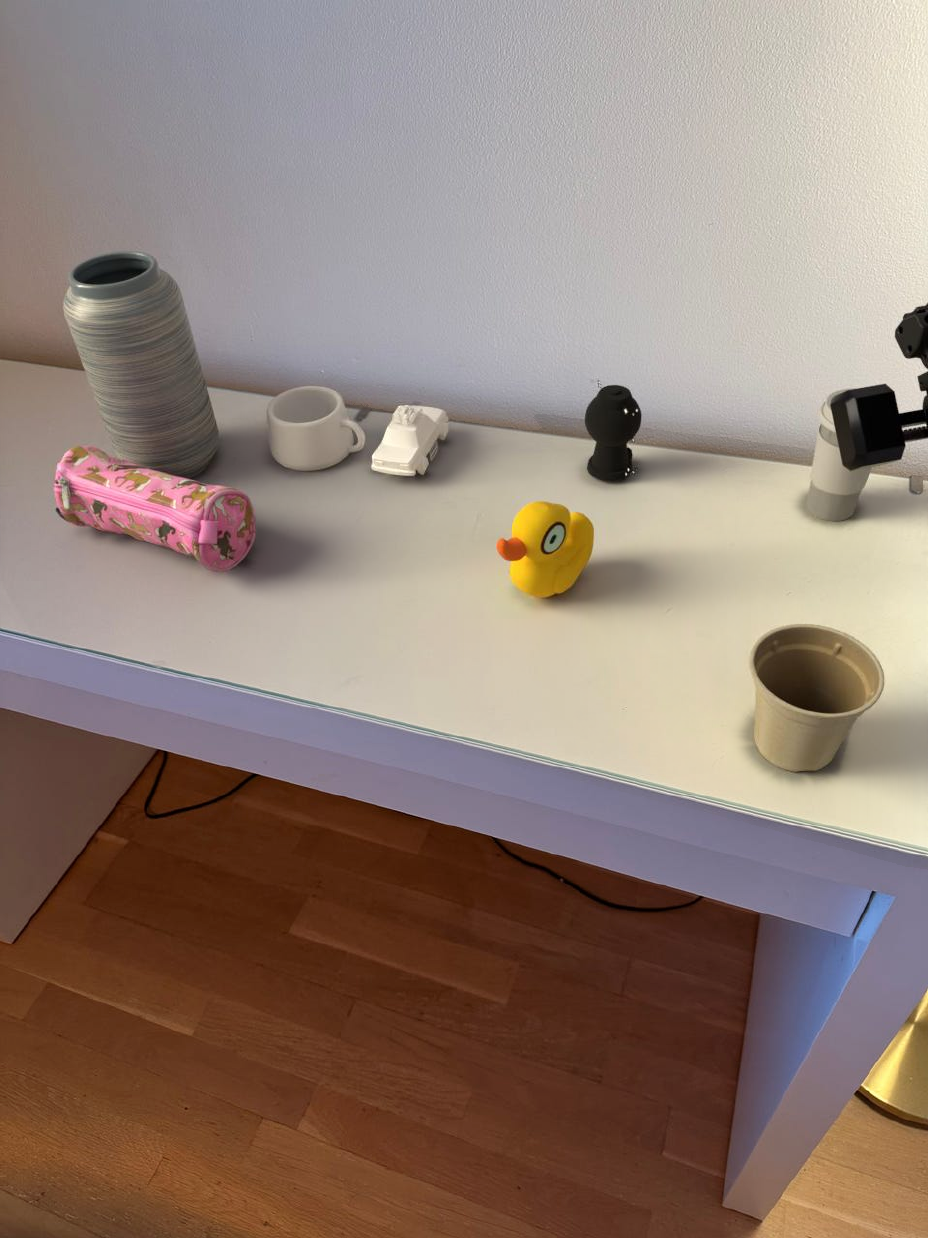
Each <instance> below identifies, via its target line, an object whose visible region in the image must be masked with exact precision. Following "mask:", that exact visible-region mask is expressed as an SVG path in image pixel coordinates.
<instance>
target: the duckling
mask: <svg viewBox="0 0 928 1238" xmlns="http://www.w3.org/2000/svg"><path fill="white" fill-rule="evenodd" d="M510 532H511V537H510V538H508V539H505V538H502V537H501V538H498V540H497V542H496V550H497V553H498V555H499V556H500V557H501V558H502V559H504V560H505V561H508V562H510V566H509V578H510V580H511V582H512V584H513V585H514V586H515V587H516V588H517V589H518V590H520V591H521V592H522V593H524V594H526V595H528V596H531V597H534V598H539V599H540V598H541V599H543V598H544V599H545V598H549V597H551V596H553V595H555V594H557V595H559V594H562V593H564V592H565V591H567V590H568V589H570V588H571V587H572V586H573V585H574V584H575V582H576V581H577V579H578V578H579V576H580V574H581V573H582V571H583V569H584V567H586V565H587V564H588V562H589V560H590V559H591V557H592V554H593V550H594V541H595V527H594V523H592V521H591V520H590V518H589V517H588V516H587V515H585V514H584V513H582V512H579V511H574V512H570V510H569V508H568V507H566V506H565V505H563V504H560V503H554V502H548V501H544V500H537V501H533V502H530V503H528V504H526V505H524V506H523V507H522V508H521V509H520V510H519V511H518V512H517V514H516V515H515V516H514V519H513V521H512V524H511V531H510Z"/></svg>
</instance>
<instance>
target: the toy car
mask: <svg viewBox="0 0 928 1238" xmlns="http://www.w3.org/2000/svg"><path fill="white" fill-rule="evenodd" d="M449 421H450V420H449V417H448V413H447V412H446V411H445V410H443V409H441V408H437V407H431V406H424V405H408V404H405V405H399V406H397V408H396V409H395V411H394V412H393V413H392V418H391V421H390V422H389V424H388V426H387V427H386V429H385V432H384V435H383V438H382V440H381V442H380V444H378V447H376V449H375V450H374V452H373V454H372V455H371V460H372V464H371V466H370V468H371V470H372V471H375V472H379V473H383V474H387V475H396V476H406V477H413V476H414V477H415V475H416V474H417V473H418V474H420V475H422V476H424V475H425V473H426V471H427V469H428V466H429V465H430V463H429V460H430V461H432V460H433V459H434V457H435V456H436V454H437V452H438V450H439V449H438V441H437V440H438V439H440V440H441V441H445V439H446V438H447V435H448V433H449V431H450V428H449V424H448V422H449ZM428 455H429V458H430V459H428V457H427V456H428ZM416 471H417V472H416Z"/></svg>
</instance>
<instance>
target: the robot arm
mask: <svg viewBox="0 0 928 1238" xmlns="http://www.w3.org/2000/svg"><path fill="white" fill-rule="evenodd" d="M894 338H895V341H896V343H897V345H898V347H899V349H900V351H901V353H902V355H903V357H904V358H905V359H906V360H907V359H908V360H911V359H919V360H920V361H921V363H922V365H923V367H924V368H925V369H927V371H924V372H923V373H921V374H919V375H917V382H918V388H919V390H920V392H925V393H926V395H924V396H923V400H922V408H921V409H917V410H910V411H905V412H899V406H898V402H897V397H896V391H895V390H894V389H893V388H891V387H890V386H889V385H888V384H887V383H881V384H875V385H870V386H869V385H868V386H864V387H863V386H862V387H857V388H855V389H852V390H847V391H845V392H843V393H841V394H839V395H837V396H835V397H834V399H833V401H832V402H831V404H830V406H831V411H832V416H833V421H834V426H835V431H836V436H837V441H838V445H839V450H840V455H841V460H842V465H843V466H844V467H845V468H847V469H848V470H849V471H854V470H859V469H864V468H870V467H872V468H875V467H879V466H884V465H888V464H891V463H895V462H897V461H900V460H902V458H903V455H904V452H905V449H906V446H907V445H906V443H911V442H916V441H922V440H927V439H928V302H927V303H926V304H924V305H919V306H916V307H915V308H914V309H913V310H912V311H910V312H905V313H904V314H903V316H902V320H901V321H900V322H899V323H898V325H897V327H896V328H895V330H894ZM920 425H923V426H920ZM925 425H926V426H925ZM915 426H917V427H915ZM909 427H913V428H909ZM907 428H908V429H907Z"/></svg>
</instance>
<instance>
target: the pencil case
mask: <svg viewBox="0 0 928 1238" xmlns="http://www.w3.org/2000/svg"><path fill="white" fill-rule="evenodd" d="M53 485H54V486H55V487H54V488H53V491H54V497H55V500H56V504H57V507H56V508H55V512H56V513H57V515H58V516H59V517H60V518H61V519H63V521H66V522H67V523H70V524H71V525H73V526H77V527H85V528H86V527H90V528H95V529H96V530H99V531H102V532H107V533H112V534H115V535H116V534H117V535H129V536H131V537H133V538H134V539H136V540H139V541H142V542H148V543H151V544H153V545H157V546H162V547H164V548H166V549H168V550H171V551H173V552H176V553H179V554H181V555H184V556H188V557H189V556H190V557H192V558H195V559H196V560H197V562H198V563H200V564H201V566H203V568H205V569H207V570H210V571H212V572H213V571H214V572H218V573H219V572H220V573H223V572H227V571H229V570H231V569H234V567H236V566H238V565H239V564H240V563H241V562H242V561H243V560H244V559H245V558H246V556H247V555H248V554H249V552H250V550H251V548H252V546H253V544H254V543H255V539H256V535H257V524H256V523H257V522H256V515H255V510H254V505H253V503H252V500H251V499H250V497H249V496H248V495H247V493H246V492H244V491H243V490H241V489H239V488H237V487H236V488H235V487H229V486H226V485H218V484H214V485H213V484H208V483H204V482H200V481H198V480H194V479H192V478H190V479H186V478H182V477H177V476H173V475H169V474H166V473H163V472H159V471H154V470H151V469H148V468H146V467H143V466H140V465H137V464H134V463H131V462H128V461H125V460H122V459H119V458H117V457H116V456H111V455H109V454H107V453H106V452H105V451H103V450H101V449H100V448H98V447H95V446H91V445H77V446H75V447H72V448H70V449H69V450H67V451H66V452H65V453H64V455H63V456H62V459H61V460H60V462H58V463H57V465H56V470H55V478H54V481H53Z"/></svg>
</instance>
